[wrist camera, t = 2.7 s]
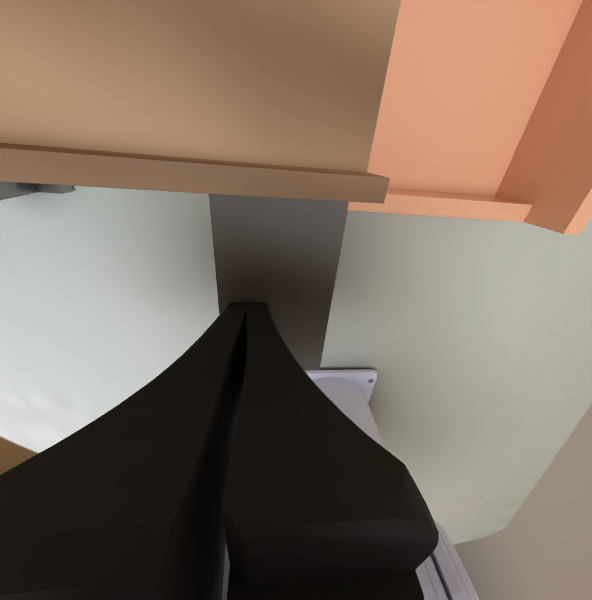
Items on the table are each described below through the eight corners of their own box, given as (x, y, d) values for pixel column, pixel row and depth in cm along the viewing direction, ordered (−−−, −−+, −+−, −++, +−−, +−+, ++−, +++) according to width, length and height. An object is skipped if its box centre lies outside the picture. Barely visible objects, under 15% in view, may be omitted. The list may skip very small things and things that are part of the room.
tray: (493, 209, 15) (579, 234, 11) (329, 198, 14) (355, 221, 10) (612, -51, 10) (858, -191, 6) (371, -104, 9) (463, -327, 5)
